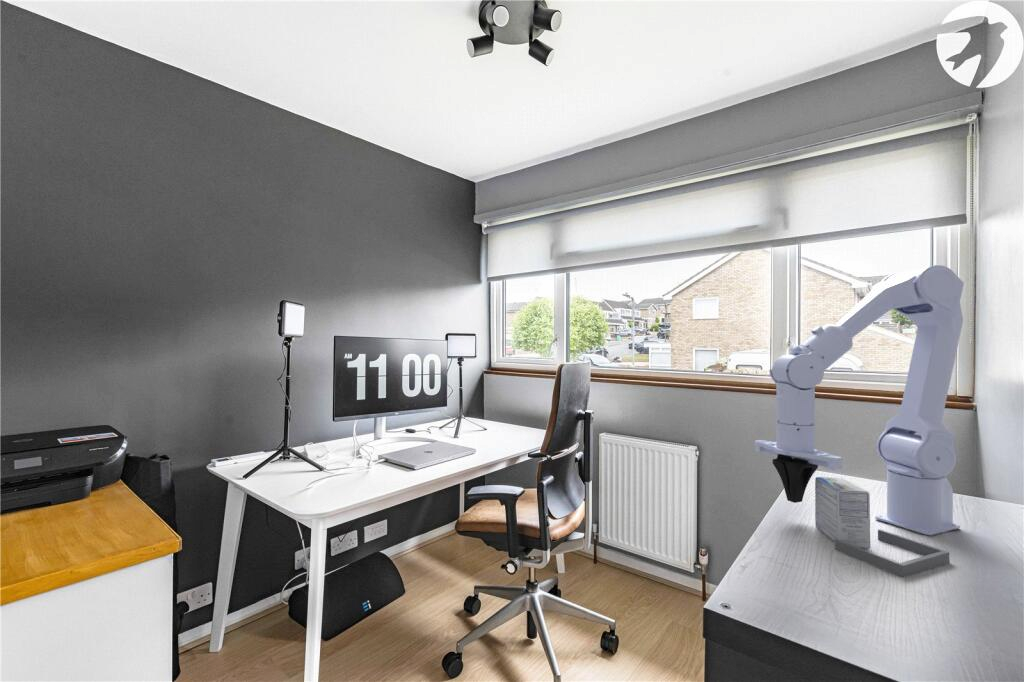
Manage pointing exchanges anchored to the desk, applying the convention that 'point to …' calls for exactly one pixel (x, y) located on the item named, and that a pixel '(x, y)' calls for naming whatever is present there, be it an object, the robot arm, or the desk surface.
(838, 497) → the medicine box
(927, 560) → the dock
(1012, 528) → the desk surface
